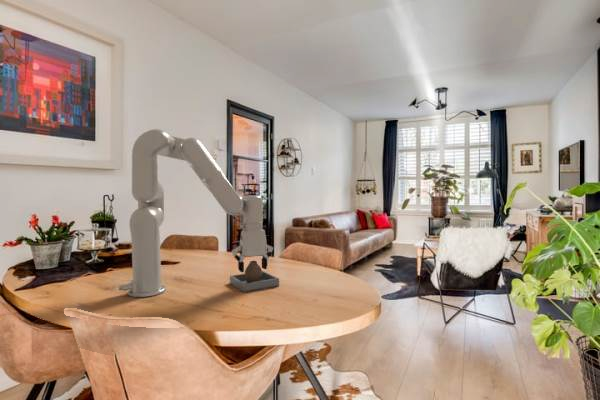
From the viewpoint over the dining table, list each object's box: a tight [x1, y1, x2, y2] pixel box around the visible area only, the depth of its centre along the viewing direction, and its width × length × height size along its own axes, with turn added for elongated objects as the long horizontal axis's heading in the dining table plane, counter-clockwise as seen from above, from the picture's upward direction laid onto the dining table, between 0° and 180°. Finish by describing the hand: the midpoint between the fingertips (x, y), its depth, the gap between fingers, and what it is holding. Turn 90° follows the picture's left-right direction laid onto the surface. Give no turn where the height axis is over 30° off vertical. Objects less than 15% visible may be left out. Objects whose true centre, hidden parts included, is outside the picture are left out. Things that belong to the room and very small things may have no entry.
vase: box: [244, 260, 263, 283], centre depth 131 cm, size 7×7×9 cm
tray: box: [229, 270, 280, 293], centre depth 132 cm, size 15×15×3 cm
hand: (253, 270), depth 131 cm, fingers open, 9 cm apart
